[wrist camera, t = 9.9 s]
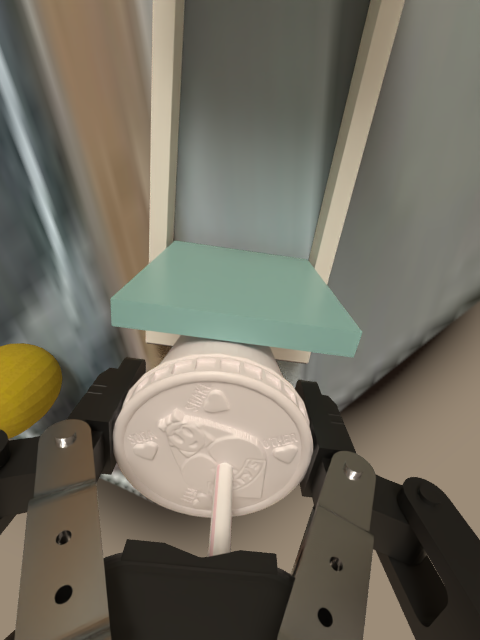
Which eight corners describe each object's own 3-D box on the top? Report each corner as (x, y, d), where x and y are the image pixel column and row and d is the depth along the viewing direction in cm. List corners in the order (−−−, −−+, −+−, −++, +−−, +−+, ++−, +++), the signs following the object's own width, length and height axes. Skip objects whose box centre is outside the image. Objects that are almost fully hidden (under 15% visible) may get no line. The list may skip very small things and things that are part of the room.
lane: (155, 328, 23) (85, 446, 13) (168, -158, 13) (-88, -1269, 3) (301, 347, 23) (342, 476, 13) (419, -107, 13) (916, -920, 3)
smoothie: (222, 384, 20) (189, 733, 8) (150, 317, 18) (-61, 638, 6) (301, 328, 18) (433, 660, 6) (231, 246, 16) (197, 481, 4)
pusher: (174, 256, 19) (112, 325, 10) (175, 240, 19) (110, 298, 10) (304, 274, 20) (353, 357, 11) (307, 259, 19) (362, 332, 10)
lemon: (77, 393, 25) (10, 479, 18) (8, 374, 25) (-90, 456, 18) (85, 337, 23) (12, 410, 16) (9, 315, 23) (-103, 381, 15)
